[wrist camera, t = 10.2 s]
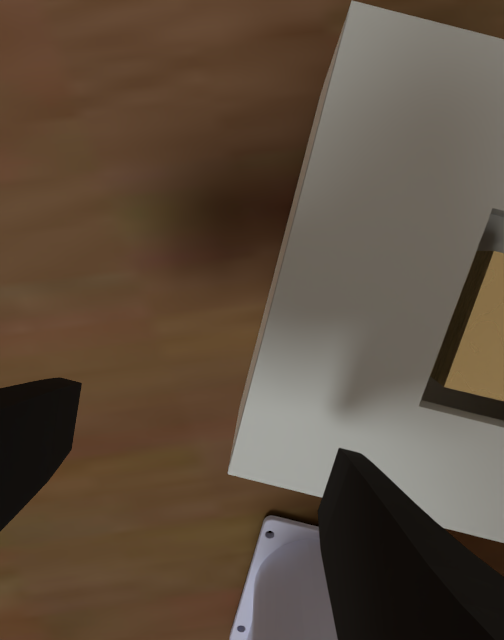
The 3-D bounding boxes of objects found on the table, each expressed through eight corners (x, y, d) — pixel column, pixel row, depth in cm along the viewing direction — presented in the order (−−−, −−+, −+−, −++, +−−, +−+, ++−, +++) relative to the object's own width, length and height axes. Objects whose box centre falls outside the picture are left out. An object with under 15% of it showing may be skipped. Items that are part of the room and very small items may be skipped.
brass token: (441, 359, 18) (508, 402, 13) (395, 348, 18) (444, 386, 13) (476, 262, 17) (563, 267, 12) (427, 250, 17) (494, 250, 12)
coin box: (520, 476, 19) (630, 574, 13) (240, 405, 19) (227, 473, 13) (657, 177, 16) (881, 135, 10) (321, 91, 16) (352, 0, 10)
